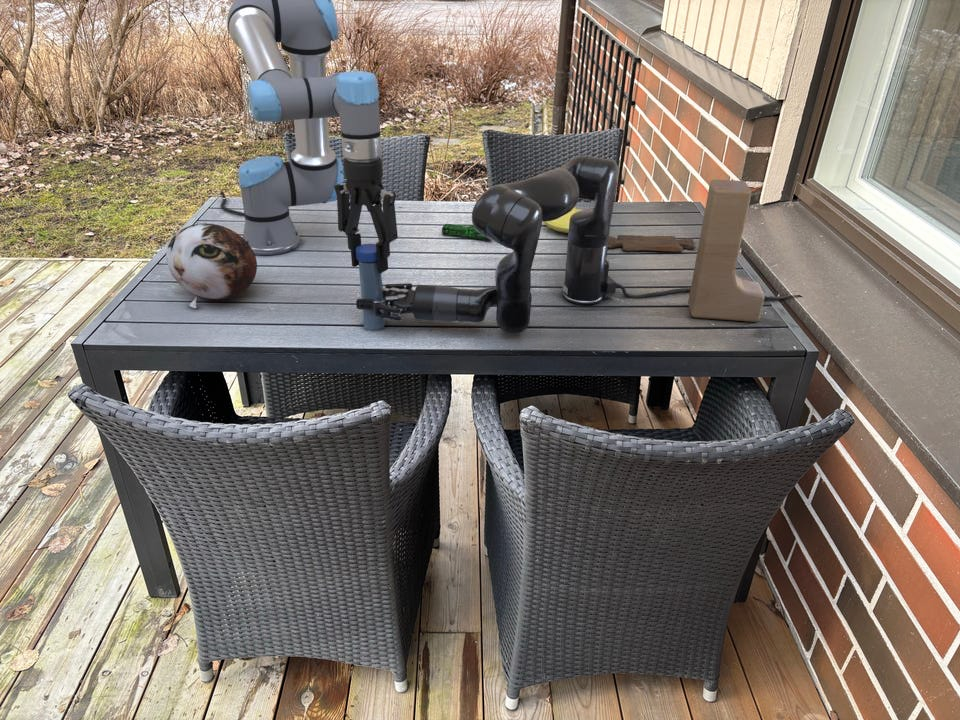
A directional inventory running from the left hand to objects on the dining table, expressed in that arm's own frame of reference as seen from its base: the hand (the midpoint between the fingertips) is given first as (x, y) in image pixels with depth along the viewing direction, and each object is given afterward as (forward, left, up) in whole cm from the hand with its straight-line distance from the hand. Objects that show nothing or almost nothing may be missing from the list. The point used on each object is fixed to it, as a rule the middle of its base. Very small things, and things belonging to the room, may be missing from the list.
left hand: (370, 267), depth 151 cm
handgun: (-13, +61, -14) cm, 64 cm away
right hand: (-2, -1, -7) cm, 8 cm away
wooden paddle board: (+32, +80, -14) cm, 87 cm away
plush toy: (-40, -10, -14) cm, 43 cm away
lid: (0, 0, +4) cm, 4 cm away
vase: (+8, +79, -14) cm, 80 cm away
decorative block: (+62, +50, -14) cm, 81 cm away
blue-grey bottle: (0, 0, -14) cm, 14 cm away
